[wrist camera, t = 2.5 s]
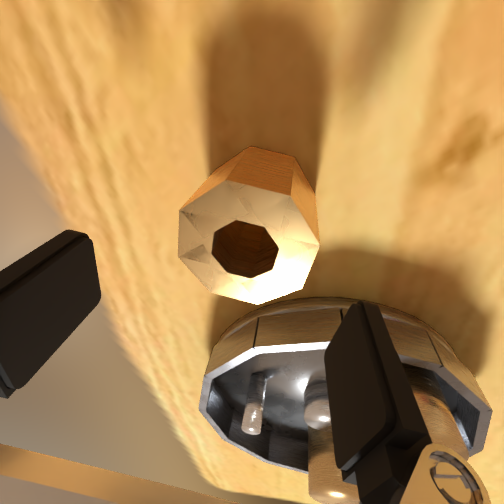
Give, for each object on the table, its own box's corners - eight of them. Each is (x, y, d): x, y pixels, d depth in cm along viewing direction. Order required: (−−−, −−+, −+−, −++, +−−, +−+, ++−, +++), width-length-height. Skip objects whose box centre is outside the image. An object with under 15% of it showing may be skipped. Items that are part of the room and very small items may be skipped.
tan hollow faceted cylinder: (219, 138, 13) (180, 168, 9) (325, 164, 13) (336, 207, 9) (208, 230, 16) (177, 283, 12) (294, 252, 16) (291, 313, 12)
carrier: (230, 265, 17) (200, 344, 12) (530, 342, 17) (625, 457, 12) (204, 404, 29) (183, 474, 24) (382, 452, 29) (399, 533, 24)
